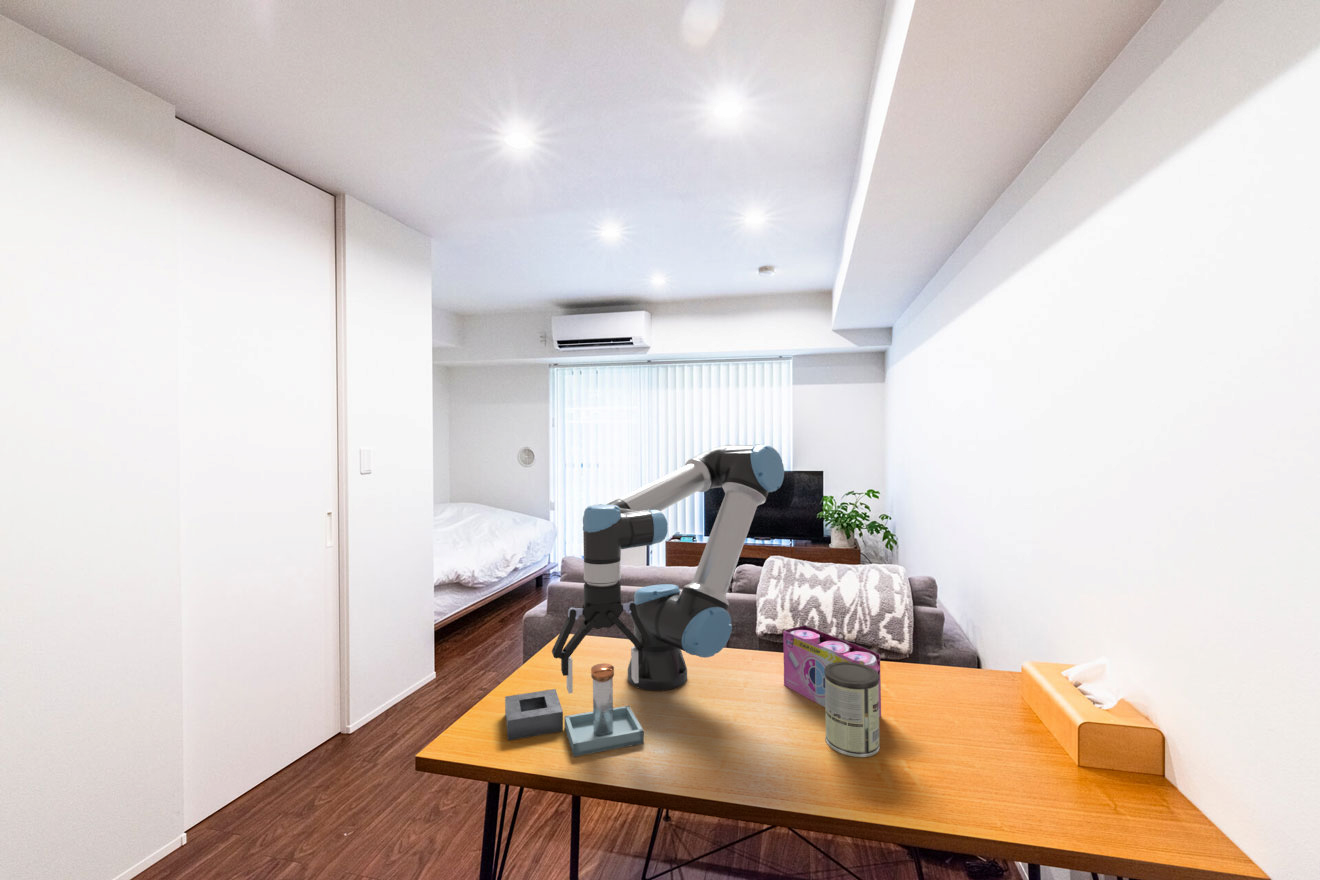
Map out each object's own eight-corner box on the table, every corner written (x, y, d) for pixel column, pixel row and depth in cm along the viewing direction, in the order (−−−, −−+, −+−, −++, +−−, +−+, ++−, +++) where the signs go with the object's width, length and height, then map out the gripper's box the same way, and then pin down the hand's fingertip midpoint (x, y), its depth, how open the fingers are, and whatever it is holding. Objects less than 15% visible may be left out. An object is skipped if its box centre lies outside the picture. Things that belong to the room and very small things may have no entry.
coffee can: (825, 725, 115) (825, 658, 115) (878, 734, 111) (878, 665, 111) (823, 752, 105) (823, 679, 105) (881, 762, 101) (880, 686, 101)
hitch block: (555, 706, 123) (555, 688, 123) (562, 730, 113) (562, 711, 113) (505, 714, 120) (505, 696, 120) (508, 740, 110) (507, 720, 110)
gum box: (888, 719, 117) (887, 656, 117) (863, 729, 113) (863, 664, 113) (805, 678, 138) (805, 624, 138) (782, 685, 134) (781, 630, 134)
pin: (611, 723, 114) (610, 662, 114) (617, 735, 110) (616, 671, 110) (590, 727, 113) (589, 665, 112) (594, 739, 108) (593, 674, 108)
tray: (629, 716, 119) (629, 705, 119) (643, 743, 108) (643, 730, 108) (564, 728, 114) (564, 716, 114) (573, 756, 104) (573, 743, 104)
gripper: (654, 572, 119) (655, 669, 119) (538, 582, 111) (538, 686, 111) (665, 580, 112) (666, 683, 112) (542, 591, 104) (543, 703, 104)
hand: (602, 685), depth 111 cm, fingers open, 13 cm apart
